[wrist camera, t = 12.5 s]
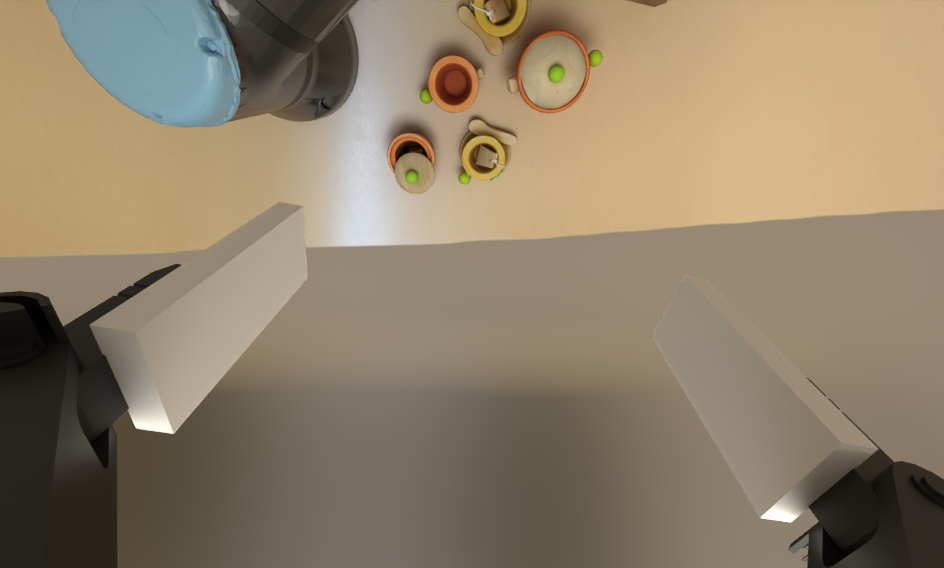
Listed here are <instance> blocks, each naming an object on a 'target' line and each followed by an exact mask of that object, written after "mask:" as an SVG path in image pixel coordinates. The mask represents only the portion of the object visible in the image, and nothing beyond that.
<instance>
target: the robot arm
mask: <svg viewBox="0 0 944 568" xmlns="http://www.w3.org/2000/svg"><path fill="white" fill-rule="evenodd" d="M358 1H359V0H47V3H48V6H49V9H50V11H51V12H52V13H53V15H54V16H55V17H56V19H57V21H58V23H59V26H60V30H61V33H62V36H63V38H64V40H65V41H66V43H67V44H68V46H69V48H70V49H71V51H72V52H73V54H74V55H75V56H76V58H77V59H78V60H79V62H80V63H81V64H82V65H83V67H84V68H85V69H86V70H87V72H88V73H89V74H90V75H91V76H92V77H93V78H94V79H95V80H96V81H97V82H98V83H99V84H100V85H101V86H102V87H103V88H104V89H105V90H106V91H107V92H108V93H110V94H111V95H112V96H113V97H114V98H116V99H117V100H118V101H120V102H121V103H122V104H124V105H125V106H127V107H128V108H130V109H131V110H133V111H135V112H136V113H138V114H140V115H142V116H144V117H146V118H148V119H151V120H153V121H156V122H158V123H161V124H166V125H170V126H176V127H213V126H219V125H223V124H224V123H225V122H230V121H234V120H238V119H243V118H247V117H252V116H256V115H261V114H265V113H269V114H272V115H274V116H276V117H279V118H282V119H286V120H290V121H312V120H316V119H320V118H323V117H326V116H328V115H330V114H332V113H334V112H335V111H337V110H338V109H339V108H340V107H341V106H342V105H343V104H344V103H345V102H346V100H347V99H348V97H349V96H350V94H351V92H352V90H353V88H354V85H355V82H356V78H357V72H358V49H357V43H356V38H355V34H354V31H353V28H352V25H351V23H350V20H349V18H348V16H347V13H348V12H349V11H350V10H351V8H352V7H353V6H354V5H355V4H356V3H357V2H358ZM307 278H308V277H307V262H306V245H305V230H304V214H303V206H298V205H292V204H287V203H281V202H279V203H277V204H276V205H274V206H273V207H271V208H270V209H268V210H266V211H265V212H263V213H262V214H260V215H259V216H257V217H256V218H254V219H253V220H251V221H249V222H248V223H246V224H245V225H243V226H242V227H240V228H239V229H237V230H236V231H234V232H232V233H231V234H229V235H228V236H226V237H225V238H223V239H222V240H220V241H218V242H217V243H215V244H214V245H212V246H211V247H209V248H208V249H206V250H205V251H203V252H201V253H200V254H198V255H197V256H195V257H194V258H192V259H191V260H189V261H188V262H186V263H185V264H183V265H180V264H175V265H172V266H169V267H166V268H163V269H160V270H157V271H154V272H152V273H150V274H149V275H147V276H145V277H144V278H142V279H141V280H139V281H137V282H136V283H134V285H133V286H129V287H127V288H126V289H124V290H122V291H121V292H119V293H118V296H113V297H111V298H109V299H108V300H106V301H105V302H103V303H101V304H99V305H98V306H96V307H95V308H93V309H91V310H90V311H88V312H86V313H85V314H83V315H81V316H80V317H78V318H77V319H75V320H74V321H72V322H70V323H68V324H67V325H65V326H63V325H62V323H61V321H60V320H59V318H58V316H57V314H56V311H55V310H54V307H53V305H52V304H51V302H50V300H49V298H48V297H46V296H44V295H42V294H39V293H34V292H23V291H18V292H5V293H0V568H117V435H116V432H115V430H114V427H113V425H112V424H113V423H114V422H115V421H116V420H117V419H118V418H119V417H120V416H121V415H122V414H123V413H124V412H125V411H126V410H128V412H129V414H130V416H131V418H132V420H133V423H134V425H135V427H136V428H137V429H144V430H151V431H158V432H165V433H172V434H173V433H175V432H176V430H177V429H178V428H179V427H180V426H181V425H182V423H183V422H184V421H185V419H187V418H188V416H189V415H190V414H191V413H192V412H193V411H194V409H195V408H196V407H197V406H198V405H199V404H200V403H201V401H202V400H203V399H204V398H205V397H206V395H207V394H208V393H209V392H210V391H211V390H212V389H213V387H214V386H215V385H216V384H217V383H218V381H219V380H220V379H221V378H222V377H223V376H224V375H225V373H226V372H227V371H228V370H229V369H230V368H231V366H232V365H233V364H234V363H235V362H236V361H237V359H238V358H239V357H240V356H241V355H242V354H243V352H244V351H245V350H246V349H247V348H248V347H249V346H250V344H251V343H252V342H253V341H254V339H255V338H256V337H257V336H258V335H259V334H260V333H261V332H262V330H263V329H264V328H265V327H266V326H267V324H268V323H269V322H270V321H271V320H272V319H273V317H274V316H275V315H276V314H277V313H278V312H279V311H280V309H281V308H282V307H283V306H284V305H285V304H286V302H287V301H288V300H289V299H290V298H291V297H292V295H293V294H294V293H295V292H296V291H297V289H299V287H300V286H301V285H302V284H303V283H304V282H305V280H306V279H307ZM651 337H652V339H653V340H654V342H655V344H656V345H657V347H658V349H659V350H660V352H661V354H662V355H663V357H664V359H665V360H666V362H667V364H668V365H669V367H670V369H671V370H672V372H673V374H674V375H675V377H676V379H677V380H678V382H679V384H680V385H681V387H682V388H683V390H684V392H685V394H686V395H687V397H688V399H689V400H690V402H691V404H692V405H693V407H694V409H695V410H696V412H697V414H698V415H699V417H700V419H701V420H702V422H703V424H704V425H705V427H706V429H707V430H708V432H709V434H710V435H711V437H712V439H713V440H714V442H715V444H716V446H717V447H718V449H719V450H720V452H721V454H722V456H723V457H724V459H725V461H726V462H727V464H728V465H729V467H730V468H731V471H732V472H733V474H734V476H735V477H736V479H737V481H738V482H739V484H740V486H741V487H742V489H743V491H744V492H745V494H746V496H747V497H748V499H749V501H750V502H751V504H752V506H753V507H754V509H755V511H756V512H757V514H758V516H759V517H760V518H764V519H771V520H779V521H785V522H792V521H793V520H795V519H796V518H797V517H798V516H799V515H800V514H802V513H803V512H804V511H805V510H806V509H808V508H810V509H811V511H812V512H813V514H814V515H815V516H816V517H817V519H818V520H819V522H818V523H817V524H816V525H814V526H813V527H812V528H811V529H809V530H808V531H807V532H805V533H804V534H803V535H802V536H800V537H799V538H798V539H796V540H795V541H794V542H793V543H791V545H790V547H789V549H788V550H789V551H790V552H792V553H793V554H794V553H795V552H797V551H798V550H799V549H801V548H807V549H808V555H806V556H805V557H804V558H803V559H802V560H803V561H804V562H806V563H807V564H808V567H807V568H944V479H942V478H940V477H939V476H937V475H935V474H934V473H932V472H930V471H928V470H926V469H924V468H922V467H919V466H917V465H915V464H911V463H907V462H903V461H900V462H893V460H891V459H890V458H889V457H888V456H887V455H886V454H885V453H884V452H883V451H882V450H881V449H880V448H879V447H878V446H877V445H876V444H875V443H874V442H873V441H872V440H871V439H870V438H869V437H868V436H867V435H866V434H865V433H864V432H863V431H862V430H861V429H860V428H859V427H858V426H857V425H856V424H855V423H854V422H852V420H851V419H849V418H848V417H847V416H846V415H845V414H844V413H843V412H841V411H839V410H840V409H839V408H838V407H837V406H836V405H835V404H834V403H833V402H832V401H831V400H830V399H827V398H826V395H825V394H824V393H823V392H822V391H821V390H820V389H819V388H818V387H817V386H816V385H815V384H814V383H813V382H812V381H811V380H809V379H808V378H807V377H805V376H804V375H803V374H802V373H801V372H800V371H799V370H798V369H797V368H796V367H795V366H794V365H793V364H792V363H791V362H790V361H789V360H788V359H787V358H785V356H784V355H783V354H782V353H781V352H780V351H779V350H778V349H777V348H776V347H774V346H773V345H772V344H771V343H770V342H769V341H768V340H767V339H766V338H765V337H764V336H763V335H762V334H761V333H760V332H759V331H758V330H757V329H756V328H755V327H754V326H753V325H752V324H751V323H750V322H749V321H748V320H747V319H746V318H745V317H744V316H743V315H742V314H741V313H740V312H739V311H738V310H737V309H736V308H735V307H734V306H733V305H732V304H731V303H730V302H729V301H728V300H727V299H726V298H725V297H724V296H723V295H722V294H720V292H719V291H717V290H716V289H715V288H714V287H713V286H712V285H711V284H710V283H709V282H708V281H707V280H706V279H705V278H700V277H695V276H689V275H684V276H683V278H682V280H681V282H680V283H679V286H678V287H677V289H676V291H675V293H674V295H673V296H672V298H671V300H670V302H669V304H668V306H667V307H666V309H665V311H664V313H663V315H662V317H661V318H660V320H659V322H658V324H657V326H656V327H655V330H654V331H653V333H652V335H651Z"/></svg>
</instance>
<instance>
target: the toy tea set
mask: <svg viewBox="0 0 944 568" xmlns="http://www.w3.org/2000/svg"><path fill="white" fill-rule="evenodd" d="M530 9H531V2H530V0H470V2H469V8H467V7H466V6H461V7H460V9H459V10H458V16H459V18H460V20H461V21H462V22H463V23H464V24H465V25H466V26H467V27H469V28H470V29H471V30H472V31H473V32H475V33H476V34H477V35H478V36H479V37H480V38H481V39H482V40H483V42H484V44H485V47H486V49H487V51H488V52H489V53H490V54H491V55H495V56H497V55H500V54H501V53H502V51H503V45H505V44H508V43H510V42H512V41H514V40H515V39H517V38H518V37H519V36H520V35H521V34H522V32H523V31H524V29H525V28H526V26H527V23H528V20H529V17H530ZM602 57H603V56H602V53H601V52H600V51H599V50H593V51H591V52H590V53H589V55H588V53H587V50H586V48H585V46H584V45H583V43H582V42H581V41H580V40H579V38H577V37H576V36H575V35H573V34H571V33H569V32H566V31H561V30H554V31H549V32H545V33H542V34H541V35H539V36H538V37H536V38H535V39H534V40H532V41H531V42H530V43H529V45H528V46H527V47H526V48H525V50H524V51H523V53H522V55H521V58H520V60H519V64H518V68H517V76H514V77H511V78H509V79H508V80H507V88H508V91H509V92H510V93H515V92H517V91H520V94H521V96H522V98H523V99H524V101H525V102H526V103H527V104H528V105H529V106H530V107H531V108H533V109H535V110H537V111H539V112H543V113H555V112H559V111H562V110H565V109H566V108H568V107H570V106H571V105H572V104H573V103H575V102H576V100H577V99H578V98H579V97H580V96H581V94H582V93H583V91H584V89H585V87H586V85H587V82H588V78H589V73H590V66H592V67H594V66H597V65H599V64H600V63H601V61H602ZM484 75H485V73H484V70H483V68H479V69H477V70H475V68H474V67H473V65H472V64H471V63H470V62H469V61H468V60H466V59H465V58H463V57H460V56H456V55H450V56H446V57H444V58H442V59H440V60H439V61H437V62H436V64H435V65H434V66H433V68H432V70H431V72H430V75H429V82H428V85H429V89H424V90H422V91H421V93H420V99H421V101H422V102H423V103H430V102H431V101H432V99H433V101H434V102H435V104H436V105H437V106H438V107H440V108H441V109H443V110H444V111H447V112H451V113H457V112H462V111H464V110H466V109H467V108H469V107H470V106H471V105H472V103H473V102H474V101H475V99H476V97H477V94H478V89H479V81H478V79H481V78H483V77H484ZM469 129H470V131H469V132H468V133H467V135H466V136H465V137H464V139H463V141H462V143H461V146H460V160H461V163H462V165H463V167H464V169H465V170H466V172H463V173H461V174H460V175H459V182H460V183H461V184H465V185H466V184H468V183H469V182H470V179H471V177H473V178H475V179H478V180H489V179H490V180H491V181H492V180H493V179H494V178H496V177H497V176H499V175H500V174H501V173H503V171H504V170H505V169H506V168H507V166H508V164H509V161H510V157H511V148H510V146H513V145H515V144H516V140H517V139H516V137H515V136H514V135H512V134H510V133H507V132H504V131H500V130H498V129H496V128H494V127H491V126H487V124H486V123H485V122H483V121H482V120H480V119H474V120H472V121H471V122H470V124H469ZM387 157H388V163H389V166H390V168H391V169H392V171H393V172H394V174H395V178H396V181H397V183H398V184H399V185H400V187H401V188H402V189H404V190H405V191H407V192H409V193H412V194H420V193H424V192H426V191H427V190H428V189H429V188H430V187H431V186H432V185H433V182H434V179H435V171H434V164H435V156H434V148H433V145H432V143H431V142H430V140H429V139H428V138H427V137H425V136H424V135H422V134H418V133H405V134H401V135H399V136H397V137H396V138H395V139H394V140H393V141H392V142H391V144H390V146H389V148H388V153H387Z"/></svg>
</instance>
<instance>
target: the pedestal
mask: <svg viewBox="0 0 944 568" xmlns="http://www.w3.org/2000/svg"><path fill="white" fill-rule="evenodd" d="M627 1H632V2H636V3H640V4H645V5H649V6H653V7H656V6H658V5H661V4H664V3H666V2H667V0H627Z"/></svg>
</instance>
